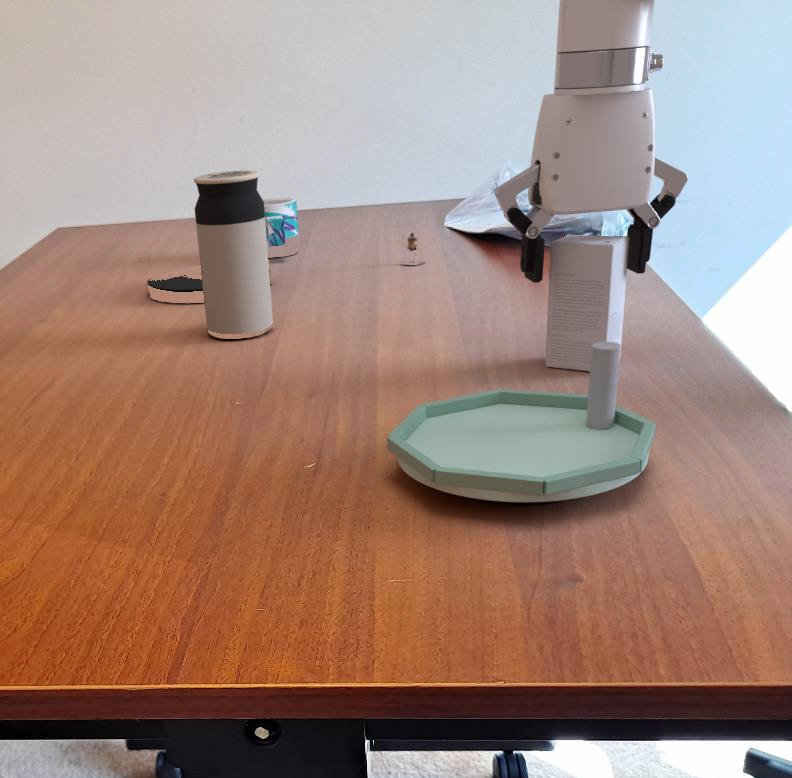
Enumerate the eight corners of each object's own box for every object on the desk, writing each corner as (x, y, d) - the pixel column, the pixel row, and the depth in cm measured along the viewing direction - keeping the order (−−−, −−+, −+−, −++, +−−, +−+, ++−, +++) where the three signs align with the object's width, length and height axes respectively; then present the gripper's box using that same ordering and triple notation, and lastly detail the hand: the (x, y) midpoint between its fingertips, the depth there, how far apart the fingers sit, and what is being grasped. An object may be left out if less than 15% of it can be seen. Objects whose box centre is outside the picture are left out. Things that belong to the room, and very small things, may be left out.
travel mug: (285, 326, 118) (275, 169, 110) (250, 343, 113) (235, 179, 105) (232, 322, 122) (217, 170, 115) (194, 338, 117) (177, 180, 109)
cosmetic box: (621, 362, 95) (632, 235, 89) (603, 374, 92) (614, 244, 86) (561, 355, 98) (568, 233, 93) (542, 367, 95) (549, 241, 90)
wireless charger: (294, 278, 143) (293, 264, 142) (223, 307, 130) (222, 292, 129) (198, 273, 152) (196, 260, 151) (123, 300, 140) (121, 286, 139)
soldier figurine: (421, 263, 145) (421, 232, 143) (416, 264, 144) (416, 234, 142) (410, 262, 147) (409, 231, 145) (405, 263, 146) (404, 233, 144)
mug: (297, 247, 165) (294, 196, 162) (304, 260, 155) (301, 205, 151) (249, 252, 165) (244, 200, 162) (253, 265, 155) (248, 210, 151)
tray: (705, 469, 67) (718, 371, 64) (471, 523, 62) (473, 420, 59) (553, 398, 82) (558, 316, 79) (358, 437, 78) (355, 352, 75)
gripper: (678, 65, 87) (656, 260, 95) (488, 80, 87) (481, 275, 94) (720, 66, 81) (692, 275, 88) (514, 82, 80) (504, 291, 88)
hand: (583, 275), depth 91 cm, fingers open, 9 cm apart
